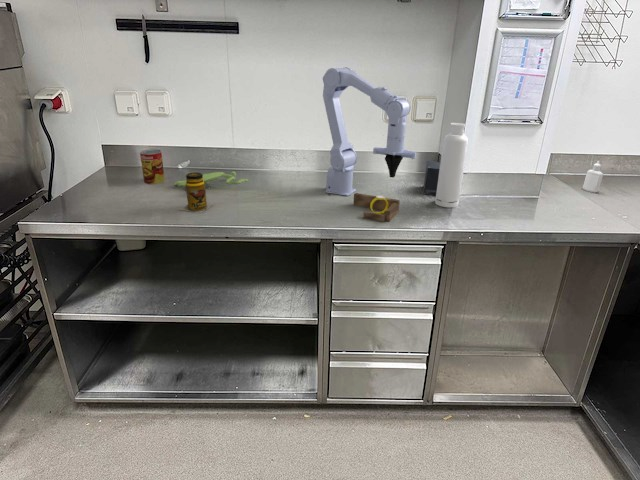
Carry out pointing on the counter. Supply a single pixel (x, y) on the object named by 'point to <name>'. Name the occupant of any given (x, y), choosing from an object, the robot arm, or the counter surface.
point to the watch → (379, 199)
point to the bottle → (452, 166)
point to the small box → (431, 177)
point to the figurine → (214, 176)
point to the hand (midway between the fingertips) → (392, 176)
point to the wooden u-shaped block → (377, 207)
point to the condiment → (195, 193)
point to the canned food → (152, 166)
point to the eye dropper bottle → (593, 179)
